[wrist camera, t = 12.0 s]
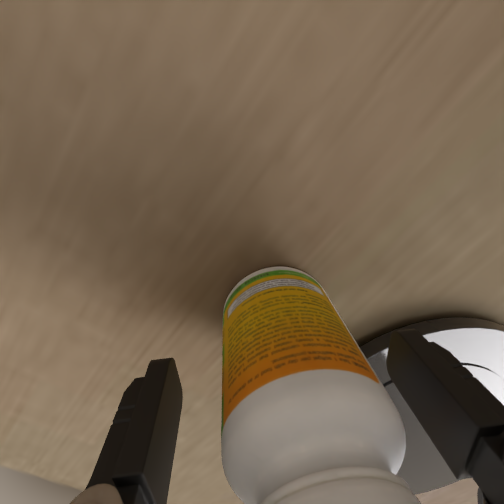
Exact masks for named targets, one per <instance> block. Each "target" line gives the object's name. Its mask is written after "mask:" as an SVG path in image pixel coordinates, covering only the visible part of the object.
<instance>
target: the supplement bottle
mask: <svg viewBox="0 0 504 504" xmlns="http://www.w3.org/2000/svg"><path fill="white" fill-rule="evenodd" d="M222 326H223V353H222V355H223V362H222V426H221V449H222V464H223V469H224V473H225V476H226V478H227V481H228V483H229V485H230V486H231V488H232V490H233V491H234V493H235V494H236V495H237V496H238V497H239V498H240V499H241V500H242V501H243V502H244V503H245V504H421V503H420V501H419V500H418V498H417V497H416V496H415V495H414V494H413V493H412V491H411V489H410V487H409V485H408V484H407V483H406V482H405V481H404V480H403V479H402V478H400V477H399V476H397V475H396V474H397V473H398V471H399V469H400V467H401V465H402V462H403V459H404V455H405V449H406V435H405V429H404V425H403V422H402V419H401V416H400V414H399V412H398V410H397V408H396V406H395V405H394V403H393V401H392V399H391V398H390V396H389V394H388V392H387V391H386V389H385V388H384V386H383V384H382V383H381V381H380V380H379V378H378V376H377V375H376V373H375V372H374V370H373V368H372V367H371V365H370V364H369V362H368V360H367V359H366V357H365V355H364V354H363V352H362V351H361V349H360V347H359V346H358V344H357V342H356V341H355V339H354V338H353V336H352V334H351V333H350V331H349V329H348V328H347V326H346V324H345V323H344V321H343V320H342V318H341V316H340V315H339V313H338V311H337V310H336V308H335V306H334V305H333V303H332V302H331V300H330V298H329V297H328V295H327V294H326V292H325V291H324V289H323V288H322V286H321V285H320V284H319V283H318V282H317V281H316V280H315V279H314V278H313V277H312V276H310V275H309V274H307V273H305V272H303V271H301V270H298V269H295V268H290V267H269V268H265V269H261V270H258V271H256V272H254V273H252V274H250V275H248V276H246V277H245V278H243V279H242V280H241V281H240V282H239V283H237V285H236V286H235V287H234V288H233V289H232V291H231V292H230V294H229V295H228V297H227V300H226V302H225V305H224V310H223V325H222Z"/></svg>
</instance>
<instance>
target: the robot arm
mask: <svg viewBox="0 0 504 504" xmlns="http://www.w3.org/2000/svg"><path fill="white" fill-rule="evenodd" d="M386 366H387V371H388V374H389V376H390V378H391V380H392V381H393V383H394V384H395V386H396V387H397V389H398V391H399V392H400V394H401V395H402V397H403V398H404V400H405V401H406V403H407V404H408V406H409V407H410V409H411V410H412V412H413V413H414V415H415V416H416V418H417V419H418V421H419V422H420V424H421V425H422V427H423V429H424V430H425V432H426V433H427V435H428V436H429V438H430V439H431V441H432V442H433V444H434V445H435V447H436V448H437V450H438V451H439V453H440V454H441V456H442V457H443V459H444V460H445V462H446V463H447V465H448V467H449V468H450V470H451V471H452V473H453V474H454V476H455V477H456V479H457V480H460V479H466V478H473V479H474V480H475V482H476V483H477V485H478V486H479V488H478V504H504V405H503V404H502V403H501V402H500V401H499V400H498V399H497V398H496V397H495V396H494V395H493V394H492V393H491V392H490V391H489V390H488V389H487V388H486V387H485V386H484V385H483V384H482V383H481V382H480V381H479V380H478V379H477V378H476V377H475V378H474V377H473V374H472V373H471V372H470V371H469V370H468V369H467V368H466V367H463V365H462V363H461V362H460V361H459V360H458V359H457V358H456V357H455V356H454V355H453V354H452V353H451V352H450V351H448V350H446V349H445V348H443V347H442V346H440V345H438V344H437V343H435V342H428V340H427V339H426V338H425V337H424V336H423V335H422V334H421V333H420V332H419V331H418V330H416V329H407V330H399V331H393V332H392V333H391V336H390V342H389V348H388V354H387V360H386ZM181 409H182V387H181V383H180V379H179V375H178V371H177V368H176V364H175V360H174V359H173V358H166V359H158V360H151V361H150V363H149V365H148V368H147V372H146V375H145V377H141V378H135V379H134V381H133V382H132V383H131V384H130V386H129V387H128V388H127V389H126V391H125V392H124V394H123V397H122V399H121V402H120V404H119V407H118V411H117V412H116V415H115V417H114V420H113V425H111V427H110V430H109V433H108V435H107V438H106V440H105V443H104V445H103V448H102V451H101V453H100V456H99V458H98V461H97V464H96V466H95V469H94V471H93V474H92V476H91V479H90V481H89V483H88V485H87V487H86V489H85V490H84V491H83V492H82V493H80V494H79V495H78V496H77V497H76V498H75V499H74V500H73V501H72V502H71V503H70V504H166V503H167V496H168V490H169V484H170V478H171V471H172V465H173V459H174V453H175V446H176V440H177V434H178V428H179V421H180V415H181Z"/></svg>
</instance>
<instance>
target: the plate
mask: <svg viewBox="0 0 504 504" xmlns="http://www.w3.org/2000/svg"><path fill="white" fill-rule="evenodd" d="M407 329H416V330H418V331H419V332H420V333H421V334H422V335H423V336H424V337H425V338H426V339H427V340H428V342H435V343H437V344H438V345H440V346H442V347H443V348H445V349H446V350H448V351H450V352H451V353H452V354H453V355H454V356H455V357H456V358H457V359H458V360H459V361H460V362H461V363H462V365H463V367H466V368H467V369H468V370H469V371H470V372H471V373H472V374H473V377H474V378H475V377H476V378H477V379H478V380H479V381H480V382H481V383H482V384H483V385H484V386H485V387H486V388H487V389H488V390H489V391H490V392H491V393H492V394H493V395H494V396H495V397H496V398H497V399H498V400H499V401H500V402H501V403H502V404H503V405H504V326H503V325H501V324H498V323H495V322H491V321H487V320H484V319H476V318H467V317H456V318H442V319H433V320H428V321H423V322H419V323H415V324H411V325H408V326H405V327H402V328H399V329H396V330H393V331H399V330H407ZM393 331H391V332H388V333H386V334H384V335H382V336H379V337H377V338H375V339H373V340H371V341H370V342H368V343H366V344H364V345H362V346H360V349H361V351H362V352H363V354H364V355H365V357H366V359H367V360H368V362H369V364H370V365H371V367H372V368H373V370H374V372H375V373H376V375H377V376H378V378H379V380H380V381H381V383H382V384H383V386H384V388H385V389H386V391H387V392H388V394H389V396H390V398H391V399H392V401H393V403H394V405H395V406H396V408H397V410H398V412H399V414H400V416H401V419H402V422H403V425H404V429H405V435H406V449H405V455H404V459H403V462H402V465H401V467H400V469H399V471H398V473H397V474H396V475H397V476H399V477H400V478H402V479H403V480H404V481H405V482H406V483H407V484H408V485H409V487H410V489H411V491H412V493H413V494H414V495H415V494H420V493H424V492H428V491H431V490H435V489H438V488H441V487H444V486H447V485H449V484H452V483H454V482H457V481H459V480H457V479H456V477H455V476H454V474H453V473H452V471H451V470H450V468H449V467H448V465H447V463H446V462H445V460H444V459H443V457H442V456H441V454H440V453H439V451H438V450H437V448H436V447H435V445H434V444H433V442H432V441H431V439H430V438H429V436H428V435H427V433H426V432H425V430H424V429H423V427H422V425H421V424H420V422H419V421H418V419H417V418H416V416H415V415H414V413H413V412H412V410H411V409H410V407H409V406H408V404H407V403H406V401H405V400H404V398H403V397H402V395H401V394H400V392H399V391H398V389H397V387H396V386H395V384H394V383H393V381H392V380H391V378H390V376H389V374H388V371H387V366H386V360H387V354H388V348H389V342H390V336H391V333H392V332H393ZM460 480H461V479H460Z"/></svg>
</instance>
